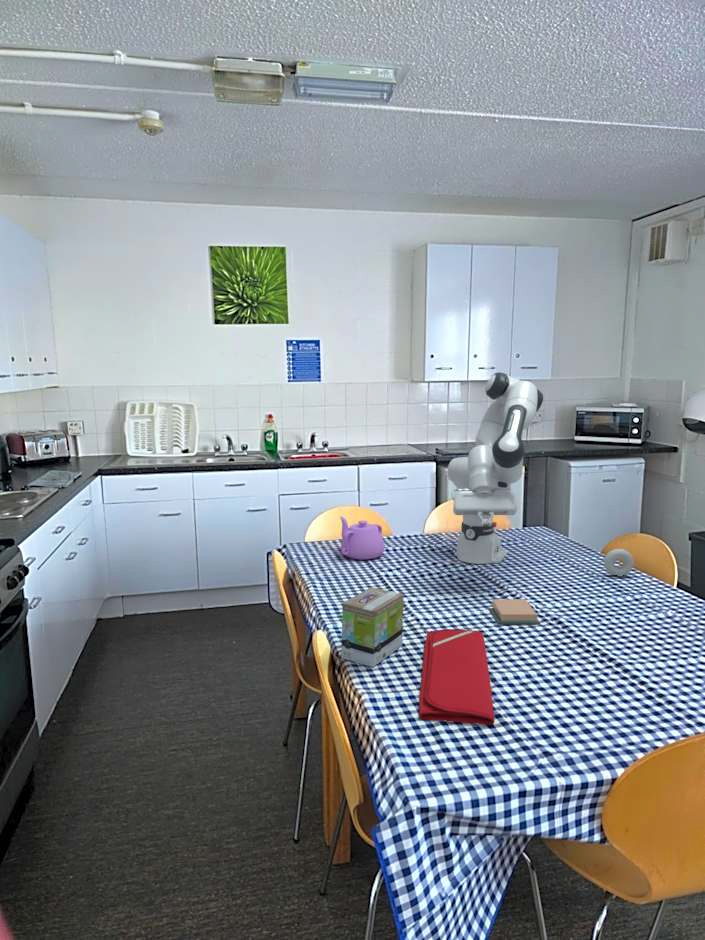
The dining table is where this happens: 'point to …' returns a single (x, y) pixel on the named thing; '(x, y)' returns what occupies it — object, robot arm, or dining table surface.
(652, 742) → the dining table surface
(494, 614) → the mat
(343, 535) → the teapot
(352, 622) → the tea box
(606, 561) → the donut
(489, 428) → the robot arm
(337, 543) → the dining table surface
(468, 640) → the dish drying mat
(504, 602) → the tile
